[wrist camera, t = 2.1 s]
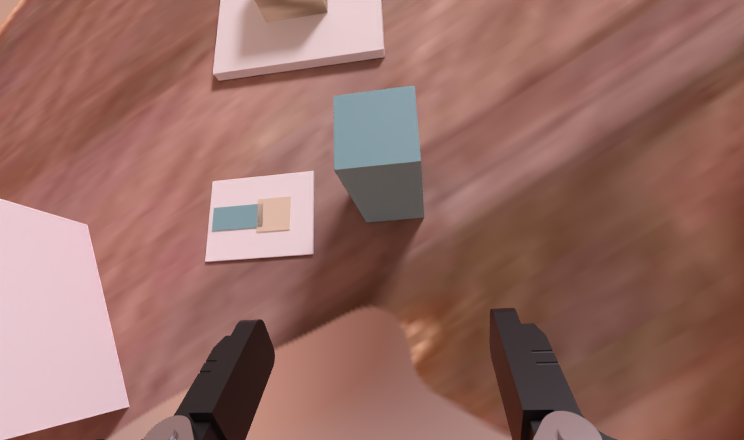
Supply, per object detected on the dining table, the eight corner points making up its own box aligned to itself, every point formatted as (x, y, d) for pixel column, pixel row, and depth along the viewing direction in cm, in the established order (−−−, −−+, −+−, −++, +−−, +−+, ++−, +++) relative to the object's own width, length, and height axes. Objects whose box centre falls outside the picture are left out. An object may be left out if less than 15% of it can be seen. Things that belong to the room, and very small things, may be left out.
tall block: (419, 164, 29) (414, 85, 20) (424, 217, 28) (420, 160, 18) (364, 169, 30) (333, 95, 20) (366, 222, 28) (334, 169, 19)
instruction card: (314, 172, 30) (312, 170, 30) (313, 254, 28) (312, 253, 28) (214, 182, 31) (212, 180, 31) (206, 261, 29) (204, 261, 29)
